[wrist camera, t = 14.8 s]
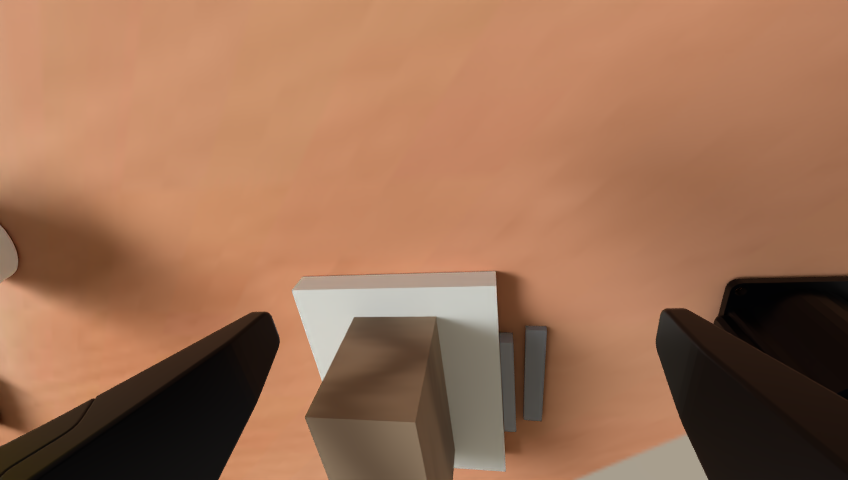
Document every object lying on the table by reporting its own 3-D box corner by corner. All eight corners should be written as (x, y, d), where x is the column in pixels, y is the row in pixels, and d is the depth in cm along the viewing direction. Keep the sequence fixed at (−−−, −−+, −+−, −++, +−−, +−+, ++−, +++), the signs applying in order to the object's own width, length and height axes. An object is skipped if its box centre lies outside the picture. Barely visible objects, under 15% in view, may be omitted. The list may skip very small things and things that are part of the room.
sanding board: (495, 271, 22) (496, 286, 20) (505, 451, 29) (505, 471, 28) (302, 276, 24) (291, 290, 23) (354, 442, 31) (348, 460, 30)
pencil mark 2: (526, 329, 23) (525, 321, 24) (523, 419, 27) (523, 410, 27) (546, 330, 23) (545, 321, 23) (541, 421, 26) (540, 411, 27)
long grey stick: (499, 329, 24) (512, 329, 24) (503, 416, 28) (515, 416, 27) (499, 342, 23) (513, 342, 23) (504, 431, 27) (516, 431, 26)
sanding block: (435, 316, 22) (415, 422, 16) (455, 450, 27) (445, 569, 21) (354, 316, 23) (304, 417, 17) (387, 446, 28) (359, 558, 22)
